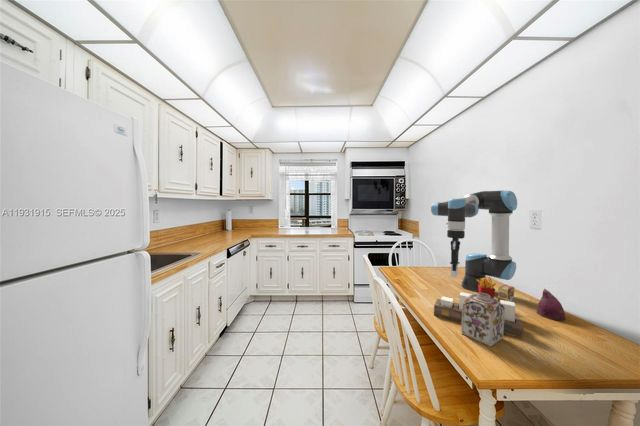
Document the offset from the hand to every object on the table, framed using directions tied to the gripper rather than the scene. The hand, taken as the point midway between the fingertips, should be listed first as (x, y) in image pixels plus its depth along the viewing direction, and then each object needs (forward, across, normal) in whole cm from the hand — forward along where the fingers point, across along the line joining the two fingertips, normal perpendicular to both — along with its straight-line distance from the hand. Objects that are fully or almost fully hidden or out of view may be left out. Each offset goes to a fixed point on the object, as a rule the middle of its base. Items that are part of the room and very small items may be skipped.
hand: (454, 276), depth 120 cm
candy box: (+20, -13, +21) cm, 32 cm away
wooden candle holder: (+19, +2, +9) cm, 22 cm away
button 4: (+15, +1, +21) cm, 26 cm away
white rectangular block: (+19, +2, -3) cm, 19 cm away
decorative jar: (+20, +15, +12) cm, 28 cm away
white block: (+15, +2, +5) cm, 16 cm away
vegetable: (+20, -29, +41) cm, 54 cm away
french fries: (+20, -27, +13) cm, 36 cm away
